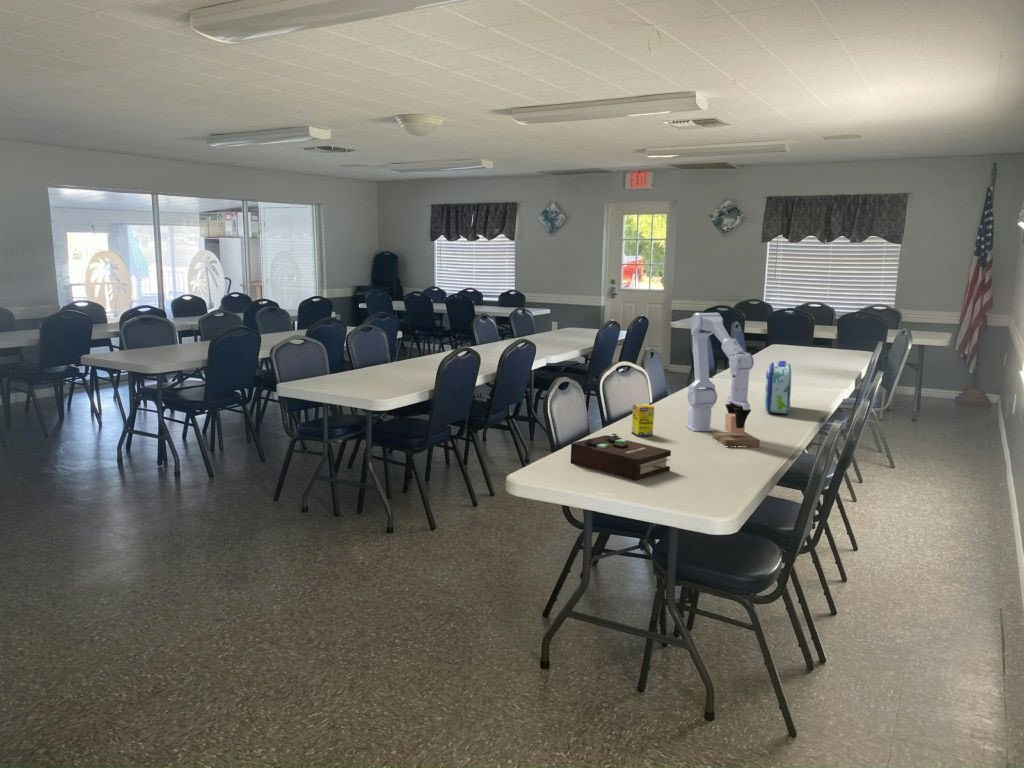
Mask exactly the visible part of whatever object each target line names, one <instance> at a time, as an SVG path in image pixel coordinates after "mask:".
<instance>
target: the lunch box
mask: <svg viewBox="0 0 1024 768" xmlns="http://www.w3.org/2000/svg"><path fill="white" fill-rule="evenodd" d="M791 366H792V365H791V363H789V362H788V363H787V361H786V360H779V361H778V362H771V363H769V367H768V369H767V371H766V374H765V385H764V386H765V387H764V408H765V410H766V412H767V413H772V414H780V415H781V414H785V415H788V414H789V412H790V409H791V393H792V367H791Z"/></svg>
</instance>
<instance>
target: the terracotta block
mask: <svg viewBox="0 0 1024 768" xmlns="http://www.w3.org/2000/svg"><path fill="white" fill-rule="evenodd" d="M724 418H725V419H724V420H725V421H724V422H725V424H724V431H725V432H729V433H744V432H746V431H745V427H746V425H745V424H746V423H745V424H744V427H743V428H737V426H736V415H735V413H725V417H724Z"/></svg>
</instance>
